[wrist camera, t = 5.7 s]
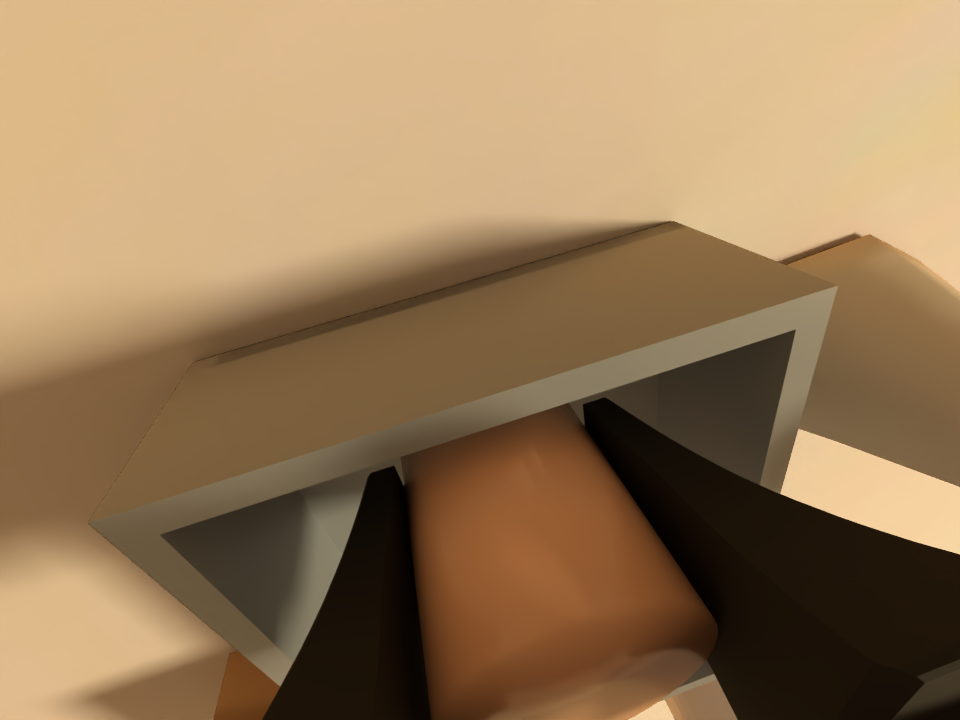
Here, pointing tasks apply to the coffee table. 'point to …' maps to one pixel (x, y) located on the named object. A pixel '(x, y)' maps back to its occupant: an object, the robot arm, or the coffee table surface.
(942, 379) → the flask
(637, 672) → the terracotta cylinder
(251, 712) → the walnut cube
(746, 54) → the coffee table surface
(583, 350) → the slate tote
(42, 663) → the coffee table surface
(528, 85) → the coffee table surface
